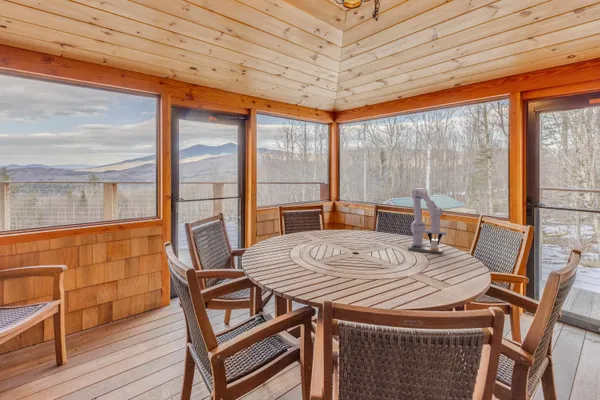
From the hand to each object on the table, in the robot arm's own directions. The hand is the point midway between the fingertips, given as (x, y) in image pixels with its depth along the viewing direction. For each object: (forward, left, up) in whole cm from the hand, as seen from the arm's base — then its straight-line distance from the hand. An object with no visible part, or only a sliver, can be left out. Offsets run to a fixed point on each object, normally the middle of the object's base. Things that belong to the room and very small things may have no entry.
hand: (434, 244), depth 213 cm
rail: (0, -6, -6) cm, 8 cm away
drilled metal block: (0, 0, -4) cm, 4 cm away
